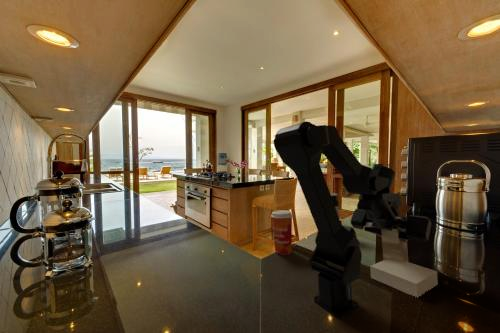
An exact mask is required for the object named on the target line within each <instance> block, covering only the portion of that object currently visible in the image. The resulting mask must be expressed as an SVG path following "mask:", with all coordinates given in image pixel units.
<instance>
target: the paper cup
mask: <svg viewBox="0 0 500 333" xmlns="http://www.w3.org/2000/svg"><path fill="white" fill-rule="evenodd" d="M270 217H271V223H272V232H273V233H272V234H273V241H274V242H273V244H274V250H275V254H277V251H278V254H277V255H279V254H288V253H291V254H292V245H293V243H292V241H293V232H292V231H293V217H294V215H293V213H292V211H291V210H284V209H281V210H279V209H278V210H275V211H274V210H273V211H272V212H271V215H270Z"/></svg>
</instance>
